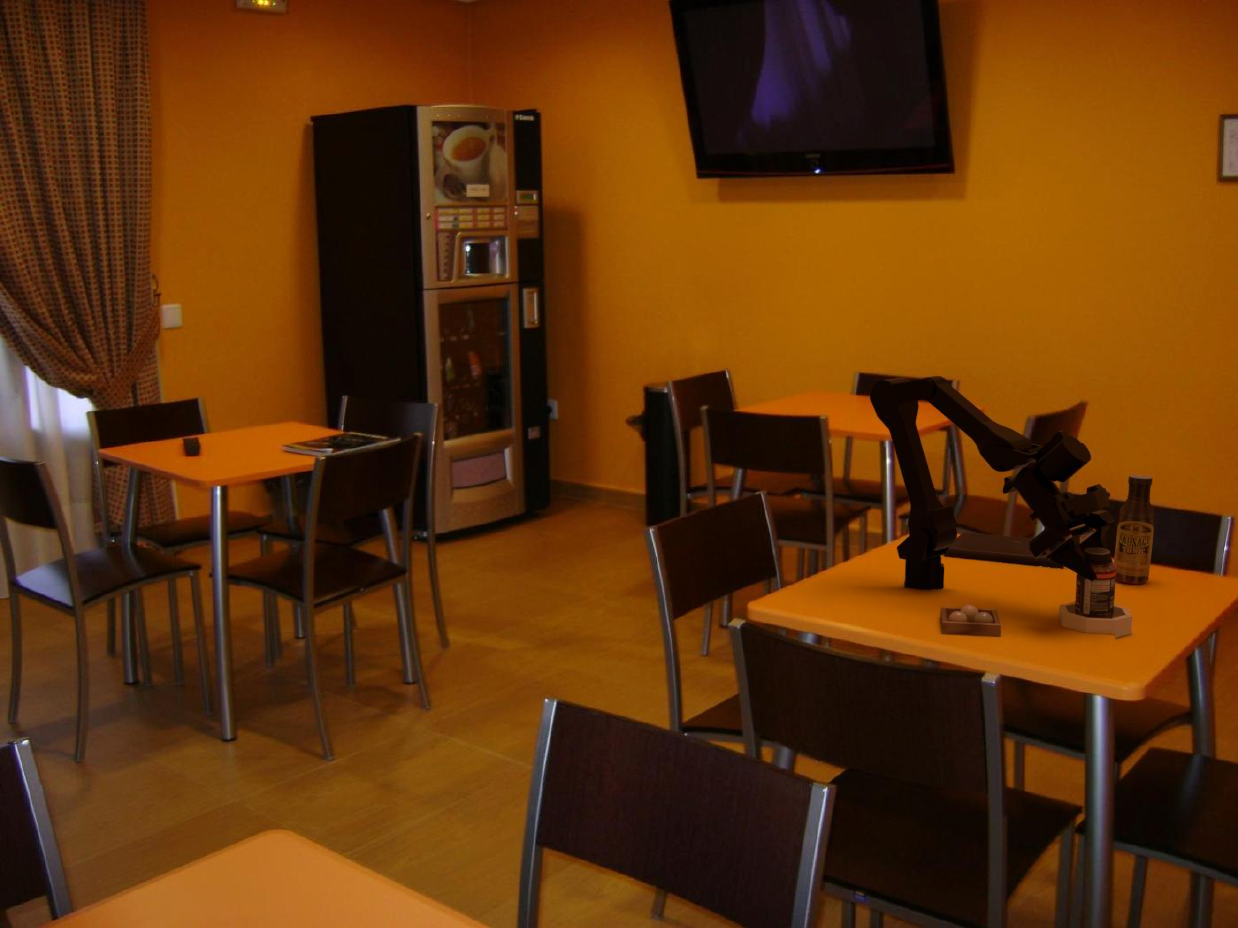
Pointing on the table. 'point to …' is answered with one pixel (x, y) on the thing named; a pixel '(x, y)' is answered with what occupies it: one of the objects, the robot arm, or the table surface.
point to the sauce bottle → (1135, 533)
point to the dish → (1097, 621)
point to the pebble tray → (970, 624)
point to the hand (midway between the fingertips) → (1104, 575)
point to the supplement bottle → (1096, 586)
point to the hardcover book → (997, 550)
